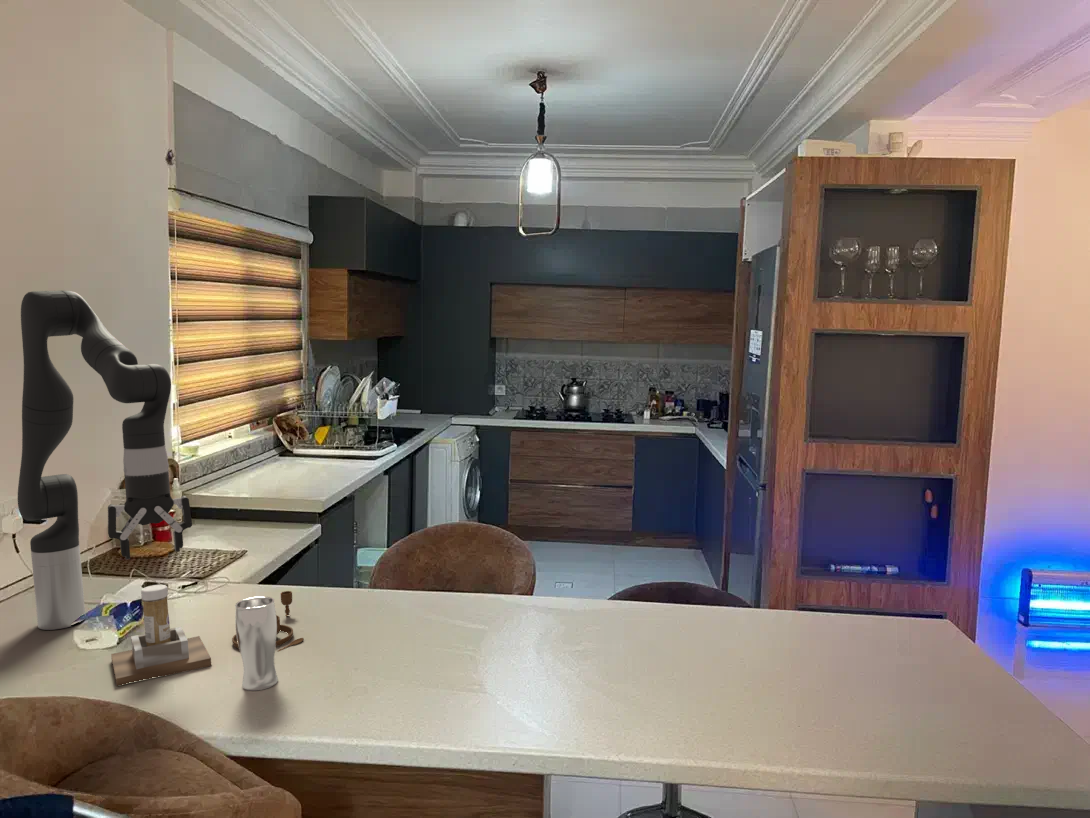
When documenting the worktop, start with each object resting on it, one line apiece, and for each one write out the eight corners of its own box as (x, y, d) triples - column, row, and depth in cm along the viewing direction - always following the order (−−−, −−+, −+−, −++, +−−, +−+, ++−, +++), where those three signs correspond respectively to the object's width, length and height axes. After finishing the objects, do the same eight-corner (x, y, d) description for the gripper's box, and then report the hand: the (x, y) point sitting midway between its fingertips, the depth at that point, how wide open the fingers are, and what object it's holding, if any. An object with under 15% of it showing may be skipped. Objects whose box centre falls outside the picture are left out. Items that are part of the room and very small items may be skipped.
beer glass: (242, 695, 141) (236, 611, 140) (237, 680, 148) (231, 600, 146) (283, 686, 145) (278, 604, 143) (277, 672, 151) (272, 593, 149)
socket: (111, 661, 159) (109, 636, 158) (199, 643, 167) (198, 619, 166) (116, 686, 147) (114, 659, 146) (211, 665, 155) (209, 640, 155)
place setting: (210, 645, 167) (208, 617, 167) (286, 615, 184) (285, 589, 184) (268, 660, 158) (266, 630, 158) (343, 627, 175) (341, 600, 175)
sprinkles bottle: (174, 656, 156) (169, 587, 155) (148, 662, 154) (142, 592, 153) (170, 649, 160) (165, 582, 159) (144, 654, 158) (139, 586, 156)
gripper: (184, 464, 160) (190, 544, 162) (102, 472, 153) (109, 556, 154) (190, 468, 154) (196, 552, 155) (104, 477, 147) (111, 565, 148)
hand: (152, 554), depth 155 cm, fingers open, 8 cm apart
